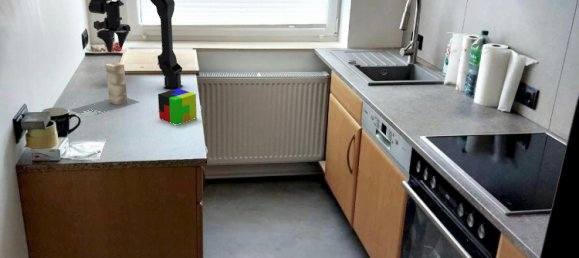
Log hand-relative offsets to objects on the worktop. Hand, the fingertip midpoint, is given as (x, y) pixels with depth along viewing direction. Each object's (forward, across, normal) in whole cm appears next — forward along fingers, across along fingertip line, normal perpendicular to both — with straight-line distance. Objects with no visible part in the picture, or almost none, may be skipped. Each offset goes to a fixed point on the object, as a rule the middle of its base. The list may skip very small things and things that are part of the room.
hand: (115, 49), depth 241 cm
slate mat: (+14, +32, +14) cm, 38 cm away
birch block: (+14, +27, +16) cm, 34 cm away
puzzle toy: (+14, +35, +46) cm, 60 cm away
